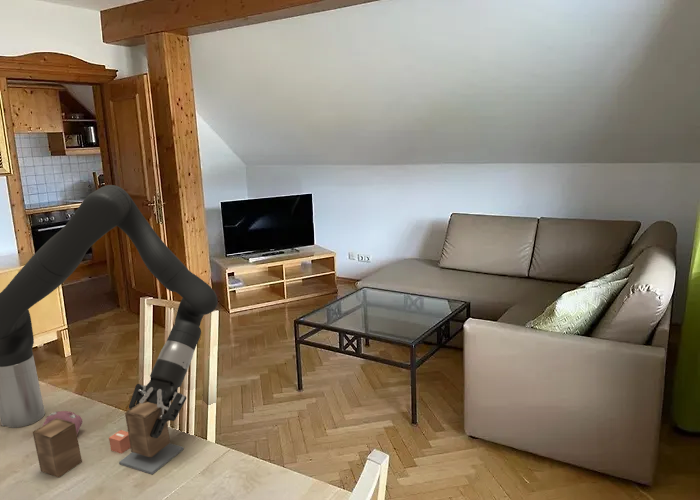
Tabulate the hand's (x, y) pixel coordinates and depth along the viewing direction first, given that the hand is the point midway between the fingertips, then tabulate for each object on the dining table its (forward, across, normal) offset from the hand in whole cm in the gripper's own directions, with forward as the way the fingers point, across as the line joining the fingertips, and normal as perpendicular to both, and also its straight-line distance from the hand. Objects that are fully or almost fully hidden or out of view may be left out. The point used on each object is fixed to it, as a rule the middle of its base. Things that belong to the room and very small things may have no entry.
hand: (142, 433), depth 124 cm
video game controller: (+5, -28, +5) cm, 29 cm away
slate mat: (+4, 0, +6) cm, 7 cm away
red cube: (+4, -10, +6) cm, 12 cm away
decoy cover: (+11, -17, -2) cm, 20 cm away
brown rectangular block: (+2, 0, +4) cm, 5 cm away
